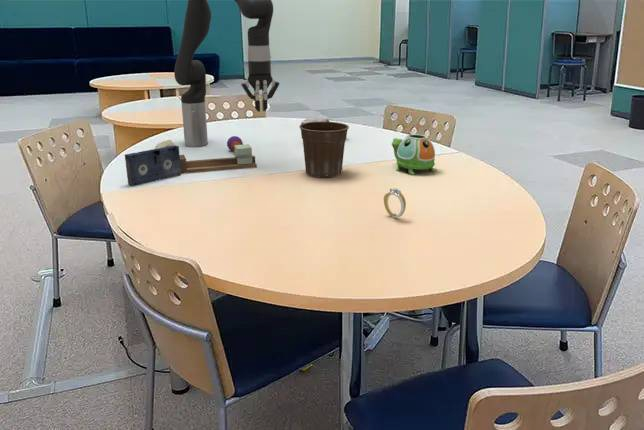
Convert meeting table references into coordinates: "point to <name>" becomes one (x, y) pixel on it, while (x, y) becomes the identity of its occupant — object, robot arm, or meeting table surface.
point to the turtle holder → (414, 153)
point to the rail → (212, 164)
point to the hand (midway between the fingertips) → (261, 110)
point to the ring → (401, 198)
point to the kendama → (233, 142)
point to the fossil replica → (164, 144)
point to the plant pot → (323, 147)
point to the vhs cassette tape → (152, 165)
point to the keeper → (243, 154)
